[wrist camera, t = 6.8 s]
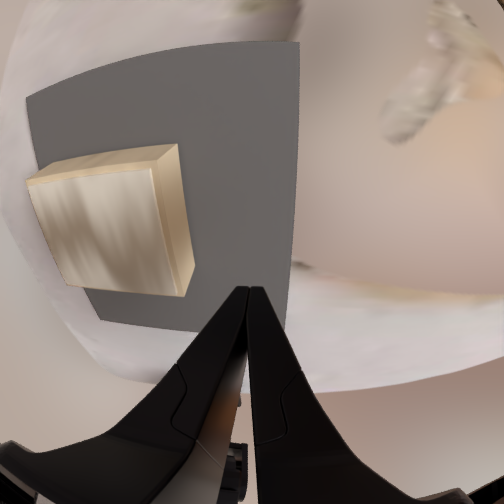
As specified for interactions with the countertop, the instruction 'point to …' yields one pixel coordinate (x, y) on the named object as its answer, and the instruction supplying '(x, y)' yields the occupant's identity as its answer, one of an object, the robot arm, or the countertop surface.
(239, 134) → the mat
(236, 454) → the robot arm
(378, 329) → the countertop surface
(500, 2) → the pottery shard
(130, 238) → the cream rectangular block
